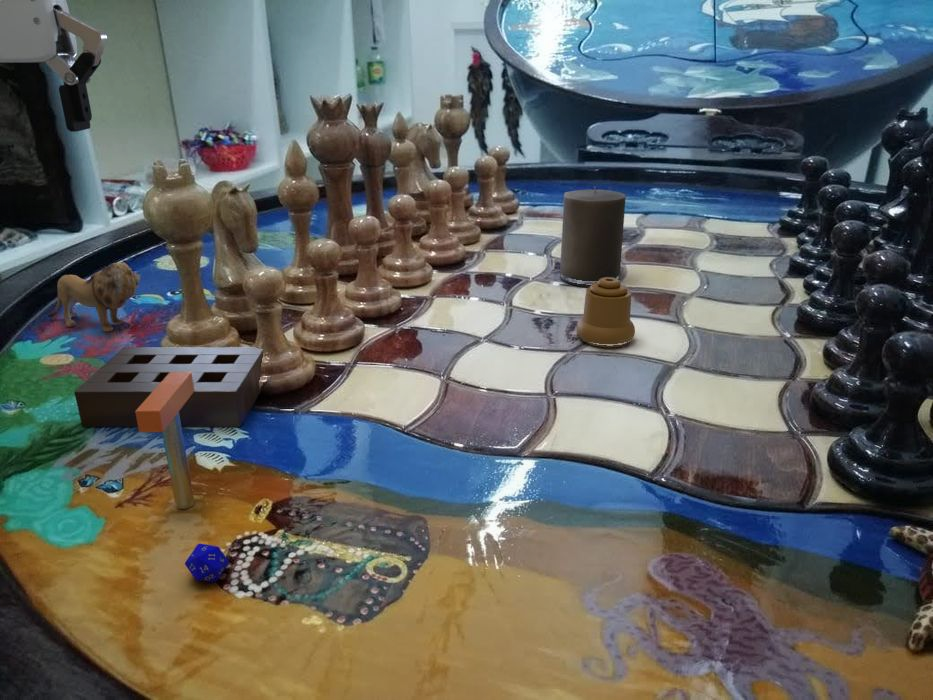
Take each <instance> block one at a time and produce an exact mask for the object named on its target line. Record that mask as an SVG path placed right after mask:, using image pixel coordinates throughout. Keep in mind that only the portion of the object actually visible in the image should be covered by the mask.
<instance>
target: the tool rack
mask: <svg viewBox="0 0 933 700" xmlns="http://www.w3.org/2000/svg"><path fill="white" fill-rule="evenodd" d="M256 347H257V346H247V347H246V346H240V347H239V346H233V347H232V346H229V347H228V346H225V347H222V346H215V347H214V346H209V347H208V346H207V347H206V346H203V347H201V346H190V347H189V346H184V347H183V346H182V347H181V346H179V347H177V346H172V347H171V346H169V347H168V346H166V347H164V346H162V347H160V346H157V347H155V346H152V347H151V346H149V347H148V346H146V347H145V346H139V347H138V346H137V347H136V346H130V347H129V346H127V347H125V346H124V347H122V348H121V349H120V350H119V351H117V352H116V354H114V355H113V356H112V357H111V358H110V359H108V361H106V362H105V364H103V365H102V366H101V367H100V368H99V369H97V371H95V372H94V373H93V374H92V375H91V376H90V377H89V378H88V379H87V380H86V381H84V382H83V383H82V384H81V385H80V386H78V388H76V389H75V390H74V397H75V402H76V405H77V410H78V414H79V418H80V424H81V427H82V428H138V423H137V418H136V413H135V411H136V410H137V409H138V408H139V406H140V405H141V404H142V403H143V402H144V401H145V400H146V399H147V397H148V396H149V395H150V394H151V393H152V392H153V391H154V389H155V388H156V387H157V386H158V385H159V384H160V383H161V382H162V380H163V379H164V378H165V377H166V376H167V375H168V374H169V372H191V373H192V379H193V385H194V392H193V394H192V395H191V396H190V398H189V399H188V400H187V401H186V403H185V404H184V405H183V407H182V408H181V409H180V411H179V415H180V421H181V427H182V428H241V426H242V425H243V424H244V422H245V420H246V418H247V416H248V415H249V413H250V411H251V409H252V407H253V406H254V405H255V403H256V402H257V399H258V397H259V395H260V394H261V392H262V391H263V390H264V387H265V386H266V383H263V385H262V386H261V388H260V390H259V380H260V377H261V363H262V358H263V349H258V348H256Z"/></svg>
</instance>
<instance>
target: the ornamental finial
mask: <svg viewBox="0 0 933 700" xmlns="http://www.w3.org/2000/svg"><path fill="white" fill-rule="evenodd" d="M584 297H585V298H584V307H583V314H582V315H583V316H582V317H581V318H580V319H579V320H578V322H577V324H576V333H577V336H578V335H579V336H578V337H579V339H580V340H581V341H582V342H584V343H586V344H588V345H590V346H593V347H597V348H598V347H599V348H607V349H609V348H610V349H611V348H613V349H614V348H620V347H623V346H626V345H627V344H630V342H631V341H632V340H633V339H634V337H635V334H636V327H635V325H634V322H633V321H632V319H631V311H632V310H631V307H632V291H631V290H630V289H629V288H628V287H627V285H625V284H624V283H621V280H620V279H619V280H618V279H616V278H611V277H605V278H601V279H599V281H598V282H595V283H593V284H592V285H591V287H586V290H585V296H584ZM581 338H582V339H581ZM632 338H633V339H632ZM584 340H586V341H584ZM630 340H631V341H630ZM587 341H588V342H587ZM628 341H630V342H628ZM589 342H593V343H599V344H618V343H624V342H628V343H625V344H622V345H613V346H607V345H597V344H593V343H589Z"/></svg>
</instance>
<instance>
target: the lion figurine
mask: <svg viewBox="0 0 933 700" xmlns="http://www.w3.org/2000/svg"><path fill="white" fill-rule="evenodd" d="M140 282H141V275H140V274H139V273H136V272H134V271H133V270H132V268H131V267H129V265H128V264H127V263H126V262H121V261H119V262H114V263H111V264H110V265H108V266H106V267H104V268H102V269H101V270H100V271H98V272H94V273H93V274H92V275H91V276H90V278H89V279H83V278H81V277H79V275H76V274H64V275H62V276H61V277H60V278H59V279H58V281H57V285H56V288H57V289H56V290H57V300H56V301H57V303H56V305H55V308H54V310H52V311H50V312H49V313H48V314H46V317H47V318H54V317H55V316H56V315H58V313H59V310H60V308H61V306H62V309H63V311H62V316H63V317H64V318H63V319H64V321H65V325H66V327H67V328H72V327H75V326H76V325H77V323H76V321H75V320H72V318H76V317H77V316H78V313H77V312H76V311H74V310H73V308H74V306H75V305H77V303H78V304H80V305H82V306H84V307H86V308H94V309H95V311H96V312H97V315H98V318H99V321H100V326H101V328H102V331H103V333H110V332H113V331H114V327H113V326H112V325H115V326H120V325H123V323H124V320H123V319H121V318H118V311H119V310H118V309H120V308H123V307H124V306H125V305H126V301H127V300H129V299H131V298H132V297H133V296H134V295H135V293H136V291H137V289H138V288H139V283H140ZM108 311H109V316H108ZM108 317H109V318H110V321H109V318H108ZM110 322H111V323H110ZM111 324H112V325H111Z"/></svg>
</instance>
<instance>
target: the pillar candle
mask: <svg viewBox="0 0 933 700" xmlns="http://www.w3.org/2000/svg"><path fill="white" fill-rule="evenodd" d="M626 197H627V196H626V194H624V193H622V192H619V191H617V190H616V191H615V190H609V189H608V190H606V189H597V187H596V186H595V185H594V186H593V189H578V190H571V191H566V192H564V194H563V206H562V207H563V208H562V209H563V210H562V229H561V230H562V231H561V246H560V263H559V270H560V271H559V273H560V272H561V274H562V275H564V276H566V277H569V278H571V279H576V280H582V281H599V279H601V278H605V277H611V278H616V277H617V276H619V274H620V275H621V266H622V265H621V264H622V254H623V253H622V252H623V241H624V240H623V238H624V237H623V236H624V225H625V224H624V223H625V213H626V212H625V211H626V199H627V198H626ZM559 277H560V280H561V281H563V282H565V283H568V284H570V285H573V286H576V287H581V288H582V287H583V288H589V287H591V285H586V284H577V283H572V282H568V281H566V280H564V279H563V278H562V277H561V276H560V275H559Z"/></svg>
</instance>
